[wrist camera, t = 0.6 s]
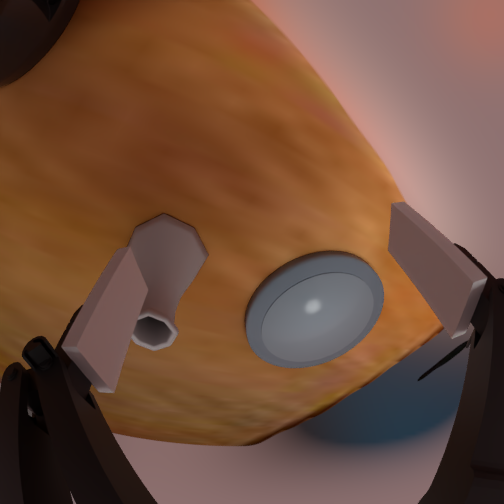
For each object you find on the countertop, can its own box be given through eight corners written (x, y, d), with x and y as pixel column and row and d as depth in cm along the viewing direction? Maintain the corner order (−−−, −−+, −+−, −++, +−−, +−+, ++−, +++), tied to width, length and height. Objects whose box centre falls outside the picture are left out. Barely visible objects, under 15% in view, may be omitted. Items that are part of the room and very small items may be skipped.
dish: (216, 300, 28) (217, 311, 27) (360, 223, 26) (368, 230, 25) (280, 374, 36) (283, 384, 35) (386, 319, 34) (392, 327, 33)
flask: (168, 297, 27) (160, 380, 19) (112, 251, 24) (77, 328, 15) (222, 253, 26) (233, 334, 17) (164, 197, 22) (141, 261, 14)
